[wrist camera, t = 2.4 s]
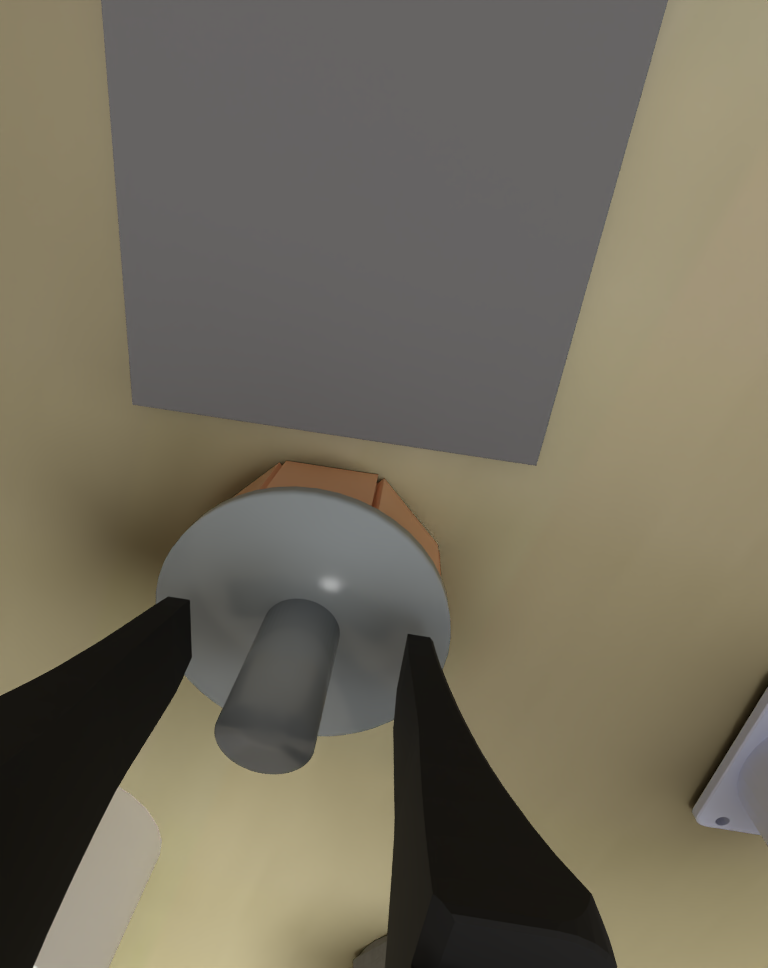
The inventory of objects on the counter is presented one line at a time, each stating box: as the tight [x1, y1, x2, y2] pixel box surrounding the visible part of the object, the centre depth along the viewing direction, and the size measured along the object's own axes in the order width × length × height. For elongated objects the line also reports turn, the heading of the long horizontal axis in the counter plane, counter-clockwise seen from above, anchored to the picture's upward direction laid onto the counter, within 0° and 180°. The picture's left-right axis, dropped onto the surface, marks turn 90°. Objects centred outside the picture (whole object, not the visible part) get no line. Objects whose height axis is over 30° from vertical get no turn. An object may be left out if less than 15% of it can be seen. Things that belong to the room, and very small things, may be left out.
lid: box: [156, 486, 450, 774], centre depth 12 cm, size 8×8×4 cm
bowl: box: [232, 461, 441, 576], centre depth 15 cm, size 8×8×2 cm
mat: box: [101, 0, 668, 466], centre depth 12 cm, size 12×12×1 cm
